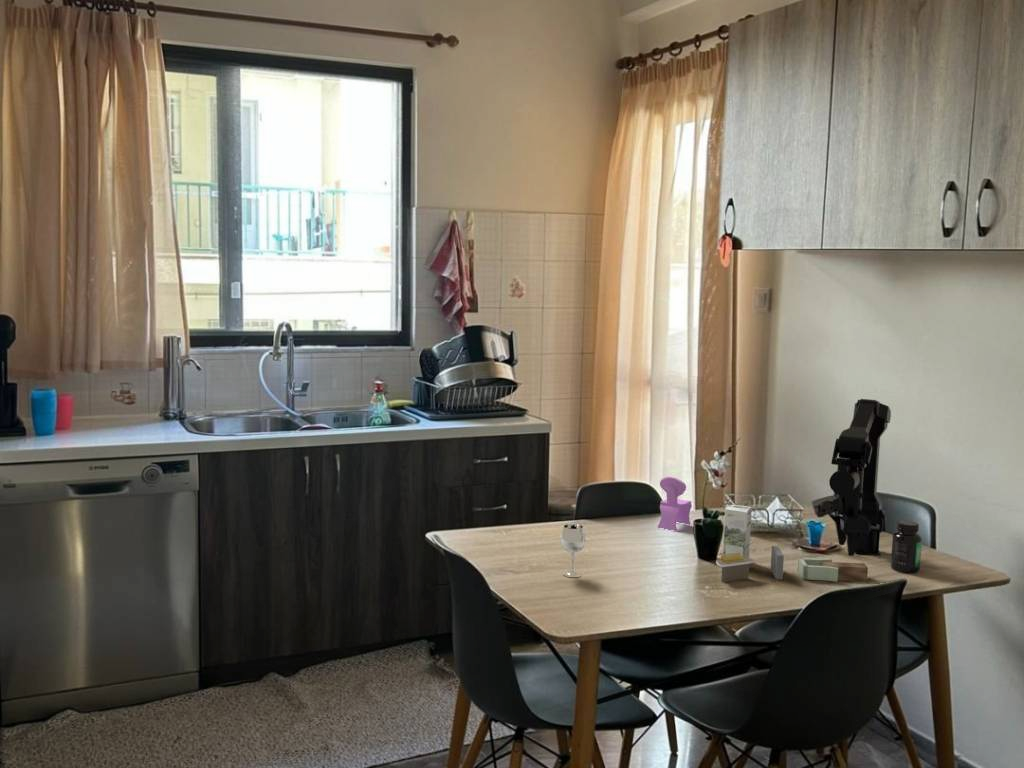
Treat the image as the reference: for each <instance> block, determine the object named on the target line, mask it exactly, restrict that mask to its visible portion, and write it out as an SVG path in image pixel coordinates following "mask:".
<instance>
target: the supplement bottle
mask: <svg viewBox="0 0 1024 768" xmlns="http://www.w3.org/2000/svg"><path fill="white" fill-rule="evenodd" d="M919 527H920V526H919V523H918V522H916V521H912V520H900V521H897V531H895V532H894V533H893V534H892V543H891V544H892V545H891V556H890V557H891V558H890V568H891V569H892V570H893V571H895V572H897V571H898V573H901V572H902V574H917V573H919V572H920V570H921V563H922V562H921V558H922V547H923V545H922V544H923V537H922V536H921V535H920V534H919V530H920V529H919Z"/></svg>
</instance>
